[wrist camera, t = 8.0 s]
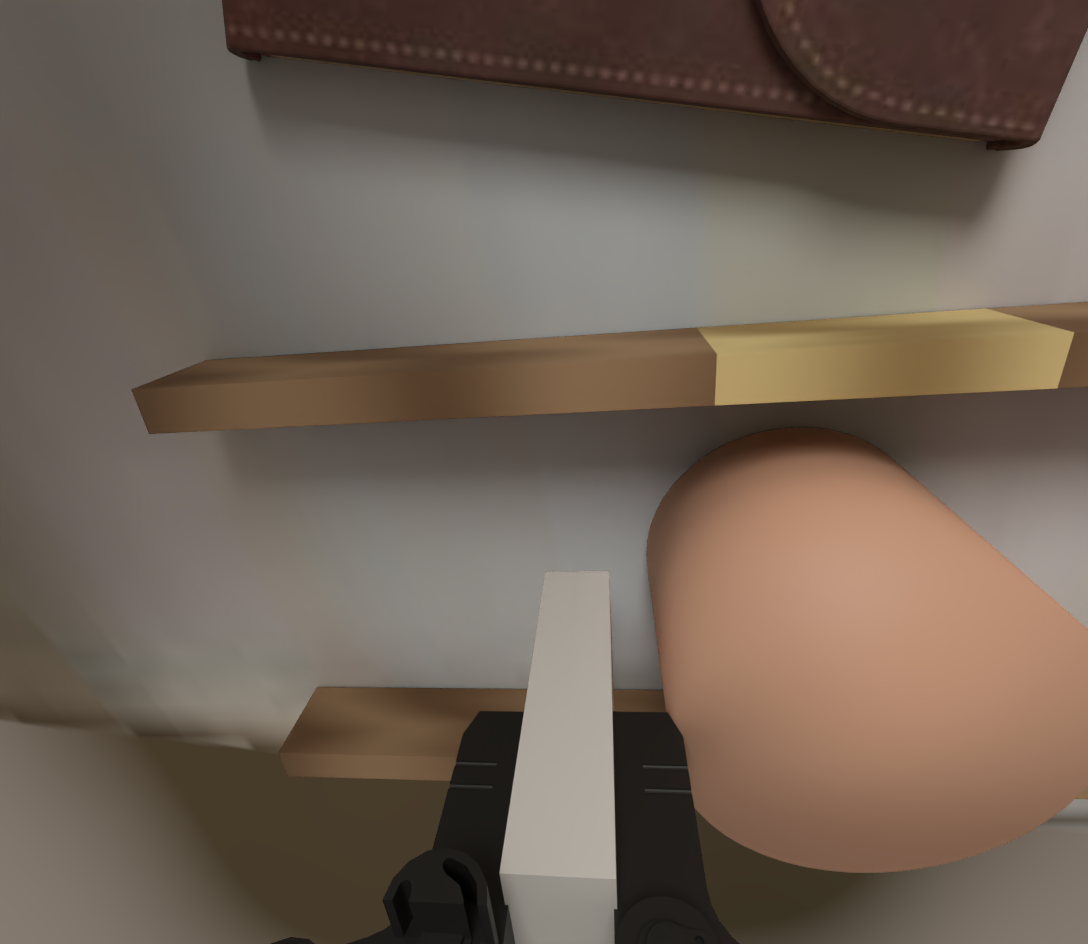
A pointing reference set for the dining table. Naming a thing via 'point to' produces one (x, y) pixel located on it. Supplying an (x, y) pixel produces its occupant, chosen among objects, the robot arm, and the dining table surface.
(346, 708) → the track
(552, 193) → the dining table surface
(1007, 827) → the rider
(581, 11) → the notebook
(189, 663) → the dining table surface
